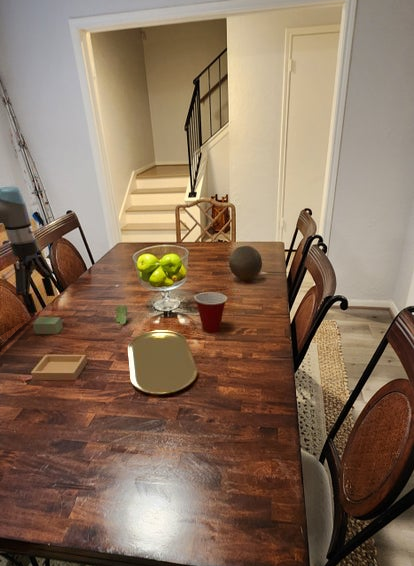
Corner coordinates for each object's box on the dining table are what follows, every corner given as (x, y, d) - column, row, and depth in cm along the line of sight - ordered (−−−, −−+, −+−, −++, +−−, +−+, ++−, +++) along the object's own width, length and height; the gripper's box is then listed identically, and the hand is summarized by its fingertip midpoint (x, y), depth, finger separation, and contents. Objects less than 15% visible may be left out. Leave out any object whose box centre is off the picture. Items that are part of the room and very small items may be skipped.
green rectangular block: (35, 333, 130) (32, 323, 128) (42, 327, 134) (38, 317, 132) (57, 333, 129) (54, 323, 127) (63, 327, 134) (60, 317, 131)
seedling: (130, 331, 139) (116, 328, 133) (125, 313, 141) (111, 309, 136) (143, 321, 135) (129, 318, 130) (137, 303, 138) (124, 299, 133)
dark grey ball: (234, 273, 173) (234, 241, 165) (264, 276, 169) (265, 243, 161) (225, 284, 162) (224, 250, 154) (257, 287, 158) (258, 252, 150)
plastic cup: (234, 329, 126) (234, 297, 120) (208, 339, 121) (206, 306, 115) (215, 318, 134) (214, 287, 128) (190, 327, 129) (188, 295, 123)
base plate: (33, 380, 106) (30, 372, 104) (48, 361, 114) (45, 354, 113) (75, 380, 105) (73, 372, 103) (87, 361, 113) (85, 354, 111)
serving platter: (182, 330, 127) (181, 326, 126) (204, 390, 98) (204, 386, 97) (127, 338, 124) (126, 334, 123) (132, 403, 95) (132, 398, 94)
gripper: (13, 252, 104) (35, 320, 116) (51, 230, 125) (67, 289, 137) (-12, 253, 105) (13, 320, 116) (30, 231, 126) (47, 289, 137)
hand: (42, 303), depth 126 cm, fingers open, 13 cm apart
